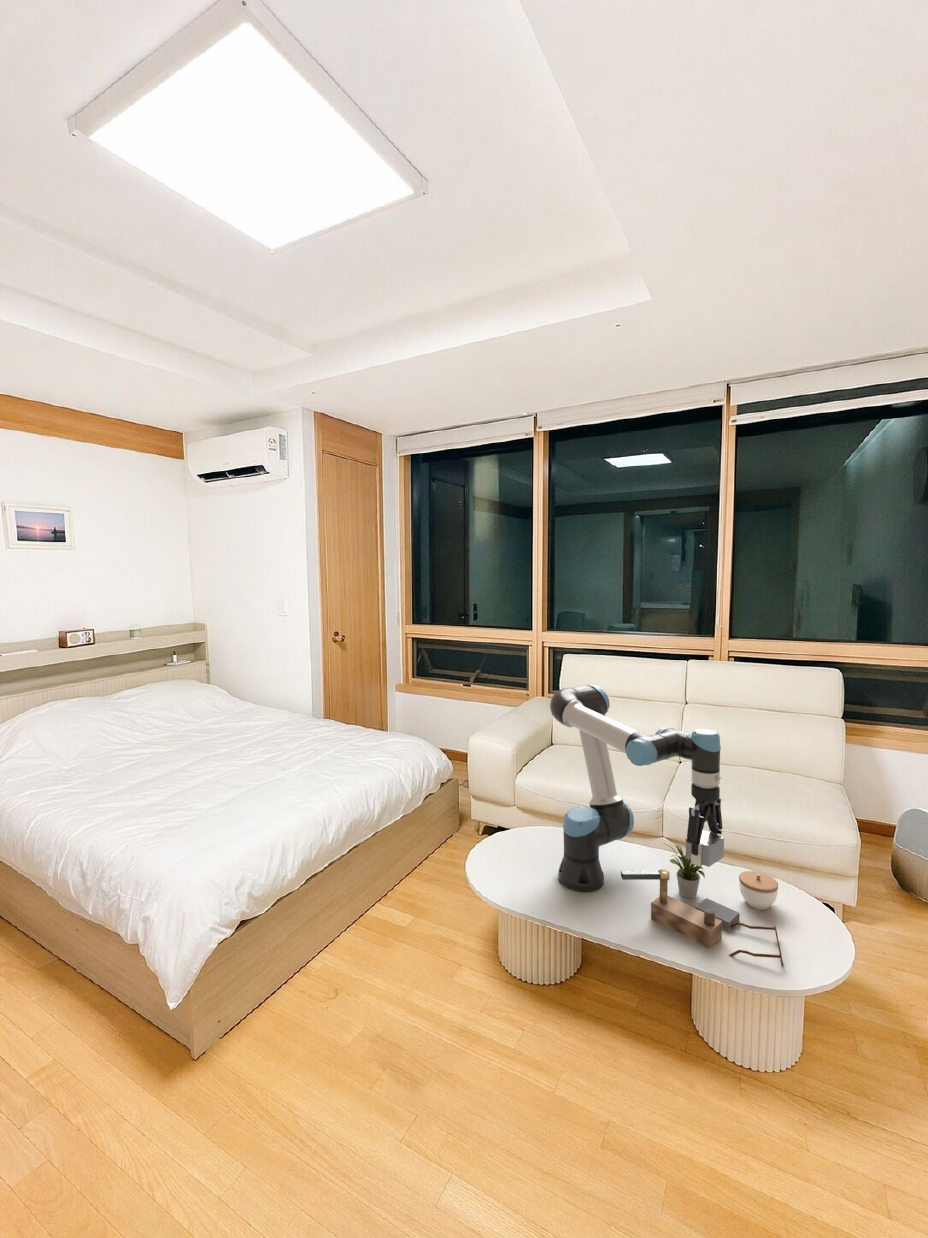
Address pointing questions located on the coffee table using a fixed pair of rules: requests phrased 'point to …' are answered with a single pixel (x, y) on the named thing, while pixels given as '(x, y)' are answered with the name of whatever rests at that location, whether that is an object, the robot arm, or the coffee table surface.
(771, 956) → the glasses
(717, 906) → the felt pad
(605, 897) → the coffee table surface
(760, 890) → the lidded jar
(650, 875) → the lever
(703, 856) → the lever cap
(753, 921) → the coffee table surface
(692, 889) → the house plant
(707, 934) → the body
